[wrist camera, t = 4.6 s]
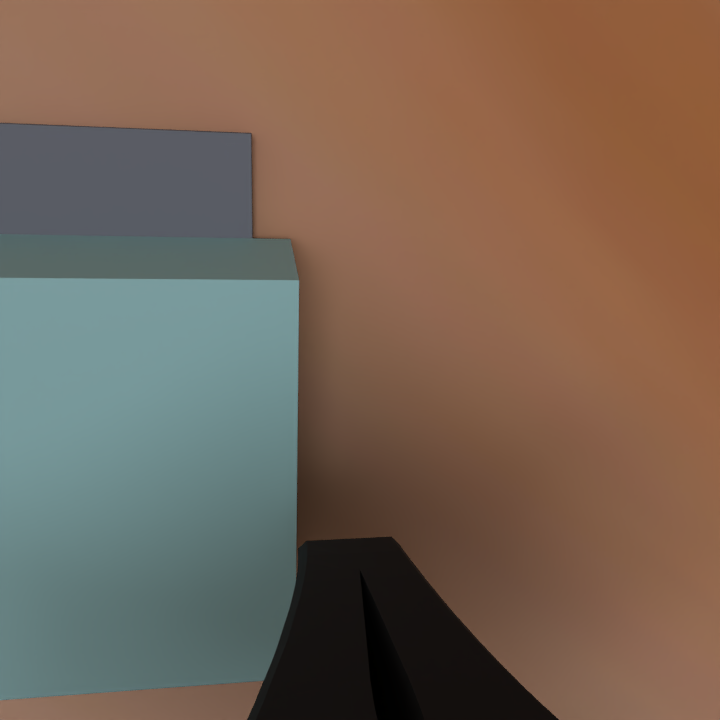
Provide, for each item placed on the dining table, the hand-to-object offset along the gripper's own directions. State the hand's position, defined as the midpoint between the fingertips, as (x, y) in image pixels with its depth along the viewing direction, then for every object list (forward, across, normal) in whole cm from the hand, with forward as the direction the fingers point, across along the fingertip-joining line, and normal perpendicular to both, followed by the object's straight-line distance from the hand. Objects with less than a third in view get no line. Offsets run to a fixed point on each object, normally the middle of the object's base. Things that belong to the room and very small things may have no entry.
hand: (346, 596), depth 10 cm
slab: (+4, +1, 0) cm, 4 cm away
